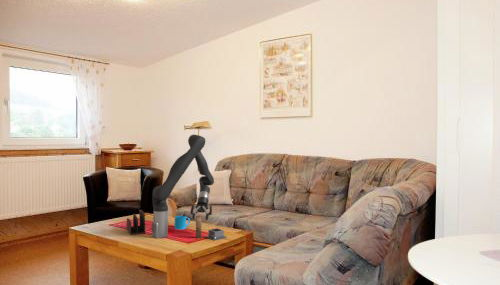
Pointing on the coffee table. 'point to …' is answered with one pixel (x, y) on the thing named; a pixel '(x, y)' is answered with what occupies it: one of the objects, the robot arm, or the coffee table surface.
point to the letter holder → (136, 224)
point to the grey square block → (216, 234)
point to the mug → (181, 222)
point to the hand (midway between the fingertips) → (199, 219)
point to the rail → (198, 226)
